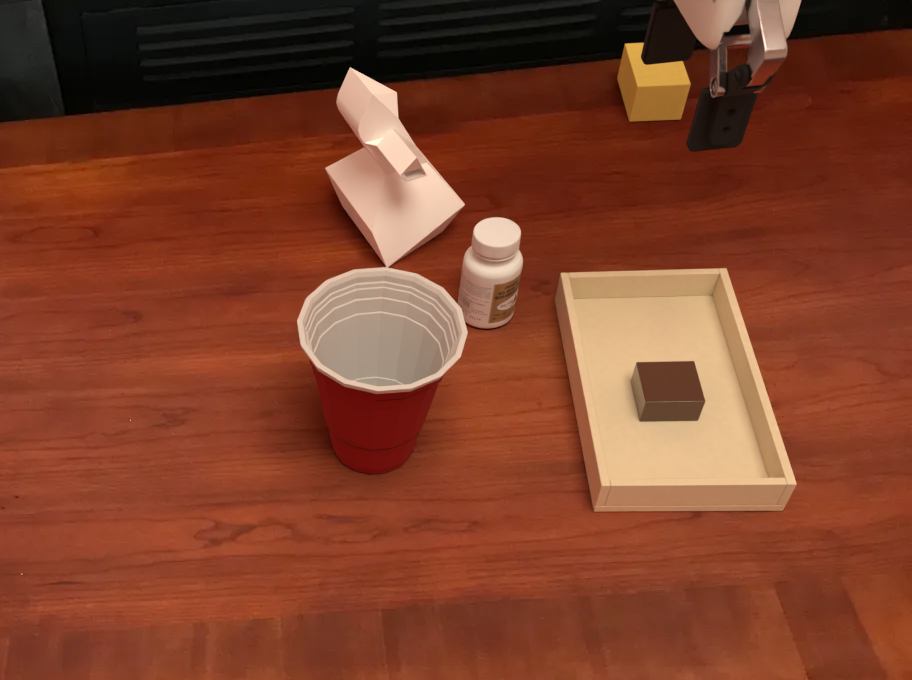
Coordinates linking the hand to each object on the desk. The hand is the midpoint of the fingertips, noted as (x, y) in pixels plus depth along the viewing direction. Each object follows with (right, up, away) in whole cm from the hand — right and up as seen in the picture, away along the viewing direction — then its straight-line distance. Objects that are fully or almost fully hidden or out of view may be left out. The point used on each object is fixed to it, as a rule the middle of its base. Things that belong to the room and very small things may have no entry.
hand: (687, 102), depth 73 cm
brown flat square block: (+2, -18, +9) cm, 20 cm away
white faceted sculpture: (-15, 0, +25) cm, 29 cm away
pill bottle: (-9, -10, +17) cm, 22 cm away
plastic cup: (-18, -21, +10) cm, 30 cm away
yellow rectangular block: (+10, +12, +32) cm, 36 cm away
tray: (+2, -18, +10) cm, 20 cm away
